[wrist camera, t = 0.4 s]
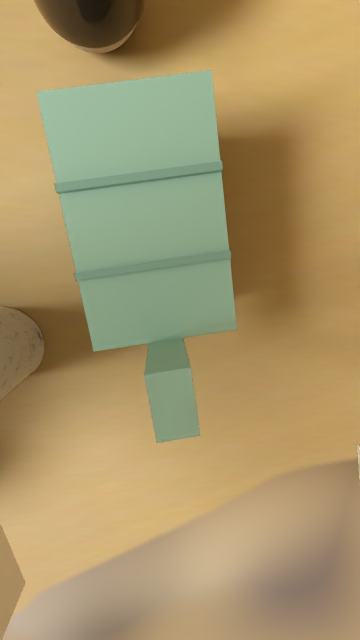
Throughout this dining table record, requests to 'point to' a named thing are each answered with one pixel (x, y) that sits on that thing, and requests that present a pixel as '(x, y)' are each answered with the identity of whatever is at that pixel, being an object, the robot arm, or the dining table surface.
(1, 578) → the robot arm
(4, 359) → the grey speckled cylinder
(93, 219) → the ridged green paddle
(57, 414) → the dining table surface
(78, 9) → the pump dispenser
